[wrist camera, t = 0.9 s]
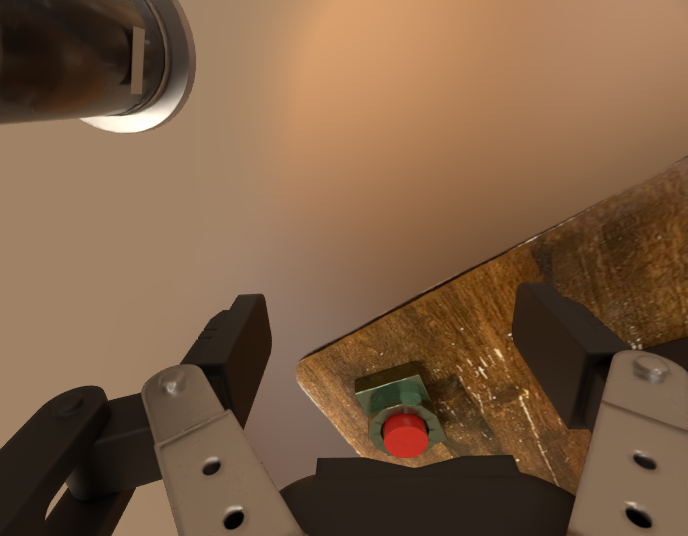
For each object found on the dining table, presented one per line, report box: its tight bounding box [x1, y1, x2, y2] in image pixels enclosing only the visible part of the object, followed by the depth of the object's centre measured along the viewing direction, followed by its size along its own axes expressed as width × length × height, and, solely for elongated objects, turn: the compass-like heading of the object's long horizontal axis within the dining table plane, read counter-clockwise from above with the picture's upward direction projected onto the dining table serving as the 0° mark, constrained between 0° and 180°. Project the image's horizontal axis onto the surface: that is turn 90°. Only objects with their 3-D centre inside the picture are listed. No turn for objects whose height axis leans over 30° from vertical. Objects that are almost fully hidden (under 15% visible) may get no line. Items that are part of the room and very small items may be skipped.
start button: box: [383, 413, 429, 458], centre depth 38 cm, size 4×4×2 cm
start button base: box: [355, 361, 447, 456], centre depth 40 cm, size 10×7×4 cm
